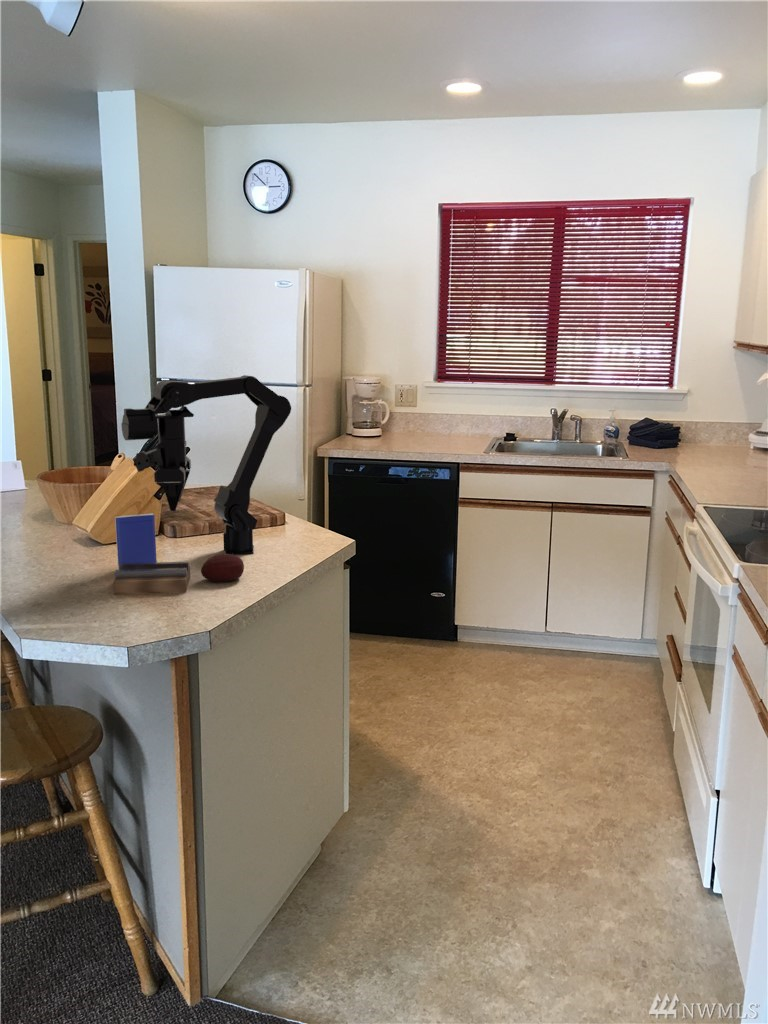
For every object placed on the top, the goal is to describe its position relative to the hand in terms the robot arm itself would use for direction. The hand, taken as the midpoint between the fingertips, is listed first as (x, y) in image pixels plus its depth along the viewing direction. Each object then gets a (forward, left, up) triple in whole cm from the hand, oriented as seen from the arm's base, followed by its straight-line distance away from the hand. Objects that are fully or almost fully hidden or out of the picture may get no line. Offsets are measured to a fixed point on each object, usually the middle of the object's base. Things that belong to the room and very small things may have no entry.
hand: (175, 506), depth 181 cm
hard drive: (+8, +6, -13) cm, 17 cm away
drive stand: (+3, +19, -13) cm, 23 cm away
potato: (-11, +16, -13) cm, 24 cm away
